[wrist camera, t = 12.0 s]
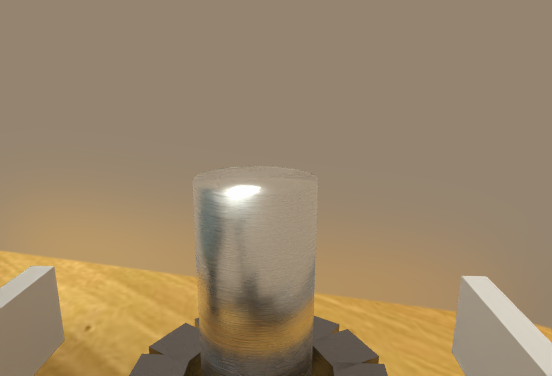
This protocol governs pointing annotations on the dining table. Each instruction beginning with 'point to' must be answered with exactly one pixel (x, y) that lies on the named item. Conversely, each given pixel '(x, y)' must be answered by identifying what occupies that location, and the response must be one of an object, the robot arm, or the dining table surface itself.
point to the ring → (325, 354)
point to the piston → (255, 270)
